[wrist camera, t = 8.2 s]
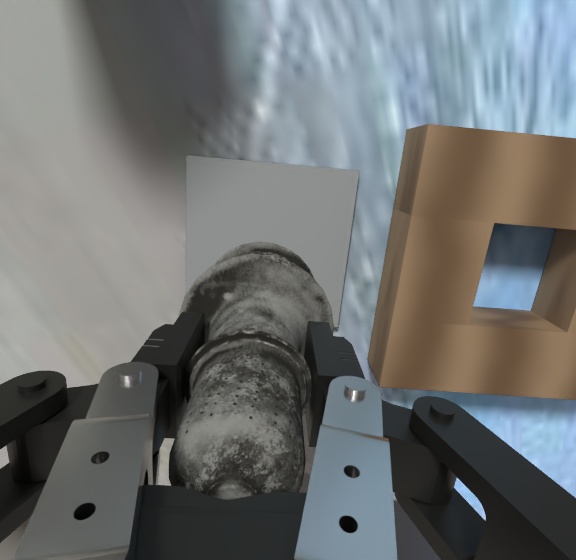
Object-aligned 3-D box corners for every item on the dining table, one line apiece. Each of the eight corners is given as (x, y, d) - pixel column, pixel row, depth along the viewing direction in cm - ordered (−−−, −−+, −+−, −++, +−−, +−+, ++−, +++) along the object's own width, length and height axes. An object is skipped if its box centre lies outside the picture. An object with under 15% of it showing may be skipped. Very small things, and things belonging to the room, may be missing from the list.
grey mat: (357, 170, 27) (359, 170, 26) (336, 324, 30) (337, 327, 30) (188, 155, 26) (186, 155, 25) (187, 313, 30) (185, 316, 29)
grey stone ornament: (324, 350, 18) (395, 659, 7) (205, 355, 18) (82, 674, 7) (323, 232, 17) (416, 390, 5) (191, 238, 17) (-6, 408, 5)
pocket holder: (654, 153, 27) (717, 152, 23) (573, 373, 32) (613, 402, 28) (406, 129, 26) (428, 124, 22) (367, 359, 31) (379, 387, 27)
